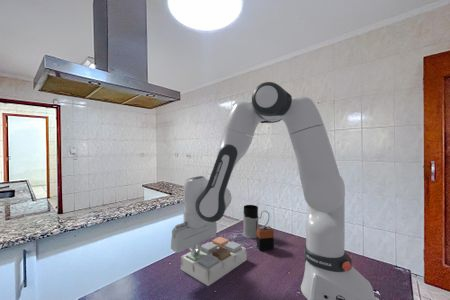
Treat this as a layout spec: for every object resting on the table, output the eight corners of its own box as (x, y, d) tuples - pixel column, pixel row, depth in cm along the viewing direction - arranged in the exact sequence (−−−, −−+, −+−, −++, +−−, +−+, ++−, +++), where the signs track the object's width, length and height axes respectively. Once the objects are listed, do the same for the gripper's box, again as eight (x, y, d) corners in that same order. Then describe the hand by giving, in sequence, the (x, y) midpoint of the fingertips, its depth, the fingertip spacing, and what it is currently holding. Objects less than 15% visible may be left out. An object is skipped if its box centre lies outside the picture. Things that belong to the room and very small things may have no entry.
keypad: (246, 260, 89) (246, 244, 89) (208, 286, 72) (208, 267, 72) (219, 248, 99) (219, 234, 99) (180, 269, 82) (180, 252, 82)
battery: (256, 246, 101) (256, 225, 100) (270, 245, 102) (270, 224, 102) (259, 251, 96) (259, 229, 96) (274, 249, 98) (274, 228, 97)
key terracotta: (228, 246, 93) (228, 239, 93) (220, 250, 90) (220, 243, 90) (219, 243, 97) (219, 236, 97) (212, 247, 93) (212, 240, 93)
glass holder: (245, 230, 120) (245, 203, 120) (271, 234, 114) (271, 206, 114) (240, 236, 112) (240, 208, 112) (267, 241, 106) (267, 211, 106)
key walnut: (230, 258, 84) (230, 250, 83) (221, 263, 80) (221, 255, 80) (220, 254, 87) (220, 246, 87) (212, 259, 83) (212, 251, 83)
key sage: (204, 262, 83) (204, 254, 83) (194, 267, 79) (194, 259, 79) (196, 257, 86) (196, 250, 86) (186, 262, 82) (186, 255, 82)
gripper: (177, 228, 73) (178, 269, 73) (219, 214, 88) (219, 247, 88) (167, 224, 77) (167, 262, 77) (208, 211, 92) (208, 243, 92)
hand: (195, 254), depth 83 cm, fingers closed, pressing on key sage
